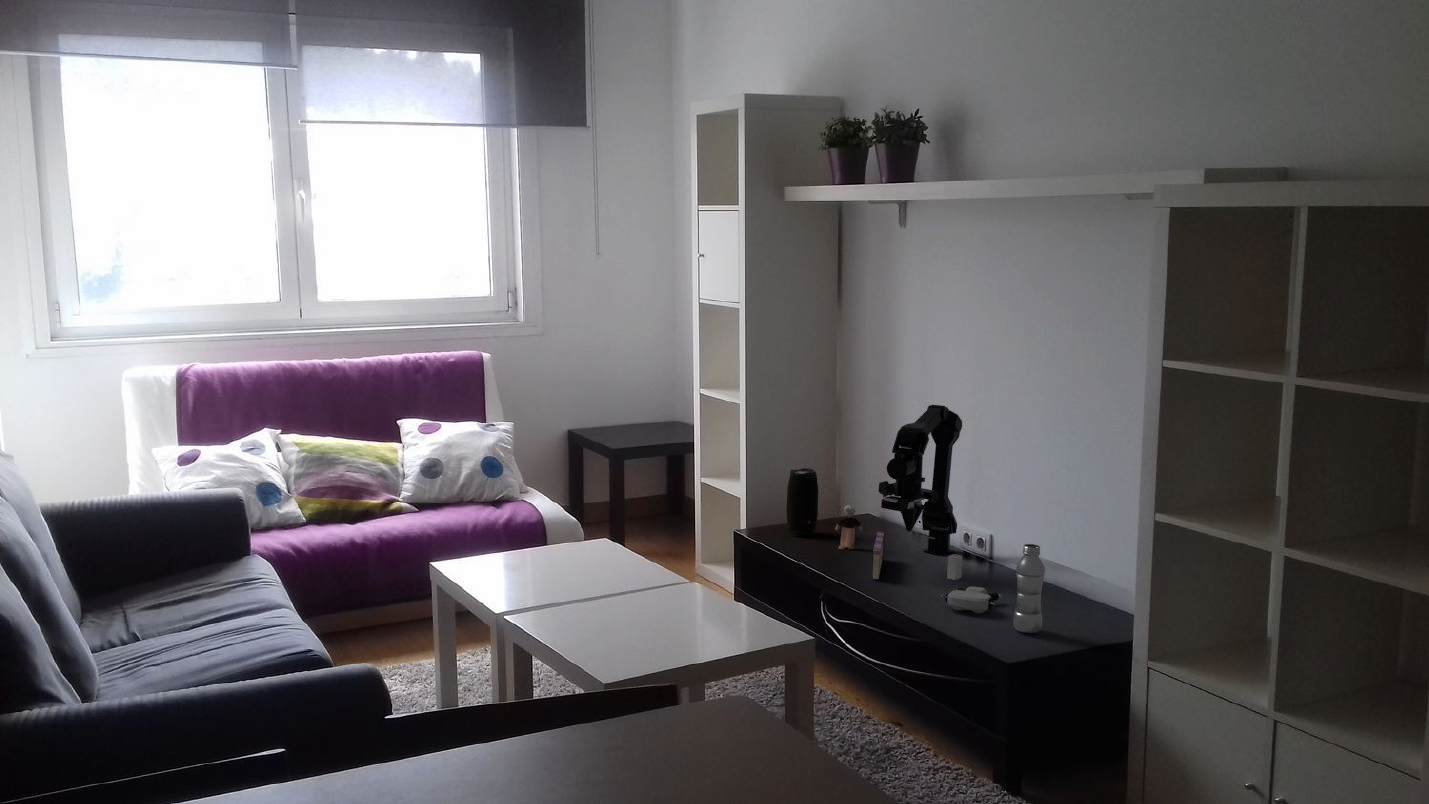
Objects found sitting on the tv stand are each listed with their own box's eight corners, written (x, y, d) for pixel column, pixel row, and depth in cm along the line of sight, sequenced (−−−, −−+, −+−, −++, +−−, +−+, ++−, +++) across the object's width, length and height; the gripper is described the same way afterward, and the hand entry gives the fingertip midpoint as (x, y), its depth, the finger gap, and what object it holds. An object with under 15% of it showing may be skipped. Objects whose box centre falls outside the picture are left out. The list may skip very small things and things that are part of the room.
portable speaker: (818, 538, 358) (820, 473, 356) (787, 537, 358) (789, 472, 355) (815, 531, 367) (816, 467, 364) (784, 530, 366) (786, 467, 364)
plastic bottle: (1038, 627, 278) (1042, 542, 275) (1044, 636, 271) (1049, 550, 268) (1009, 626, 278) (1014, 541, 275) (1015, 636, 271) (1020, 549, 268)
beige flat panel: (876, 557, 335) (877, 531, 334) (884, 557, 335) (885, 531, 334) (871, 578, 314) (872, 550, 313) (879, 579, 313) (880, 551, 312)
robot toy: (954, 600, 302) (939, 611, 288) (955, 582, 301) (940, 592, 288) (1003, 607, 296) (990, 619, 283) (1005, 588, 296) (991, 600, 282)
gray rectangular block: (953, 576, 320) (954, 554, 319) (961, 577, 318) (962, 555, 317) (947, 578, 317) (948, 556, 317) (954, 580, 316) (956, 557, 315)
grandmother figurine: (835, 550, 344) (837, 506, 343) (834, 546, 348) (835, 503, 347) (862, 550, 345) (864, 506, 343) (860, 547, 349) (862, 504, 347)
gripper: (906, 465, 333) (904, 520, 335) (865, 474, 319) (863, 531, 322) (940, 470, 325) (938, 527, 327) (900, 480, 312) (898, 539, 314)
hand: (909, 531), depth 323 cm, fingers closed
